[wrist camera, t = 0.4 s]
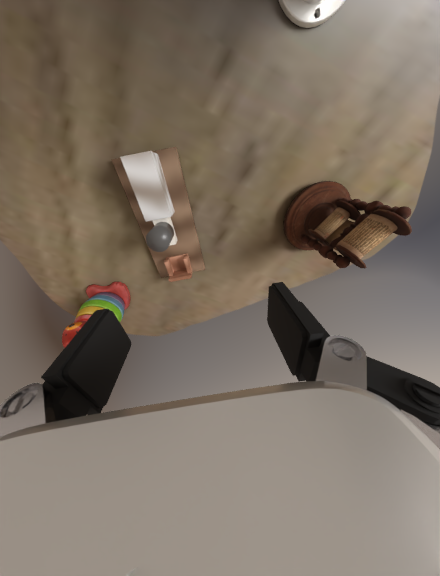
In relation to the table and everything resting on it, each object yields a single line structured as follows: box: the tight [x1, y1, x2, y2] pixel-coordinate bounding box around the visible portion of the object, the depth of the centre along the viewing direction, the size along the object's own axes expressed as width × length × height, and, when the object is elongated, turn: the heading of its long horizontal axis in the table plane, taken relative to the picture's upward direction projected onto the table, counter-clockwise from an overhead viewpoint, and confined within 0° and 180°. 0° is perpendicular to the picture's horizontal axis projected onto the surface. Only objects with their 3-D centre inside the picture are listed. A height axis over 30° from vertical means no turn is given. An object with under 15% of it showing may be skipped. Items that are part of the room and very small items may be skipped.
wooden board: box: [112, 147, 205, 282], centre depth 36 cm, size 26×12×6 cm, turn 9°
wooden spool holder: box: [284, 181, 412, 268], centre depth 33 cm, size 15×15×20 cm
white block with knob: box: [146, 217, 177, 252], centre depth 31 cm, size 14×4×9 cm, turn 9°
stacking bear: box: [62, 282, 130, 347], centre depth 41 cm, size 11×10×18 cm
